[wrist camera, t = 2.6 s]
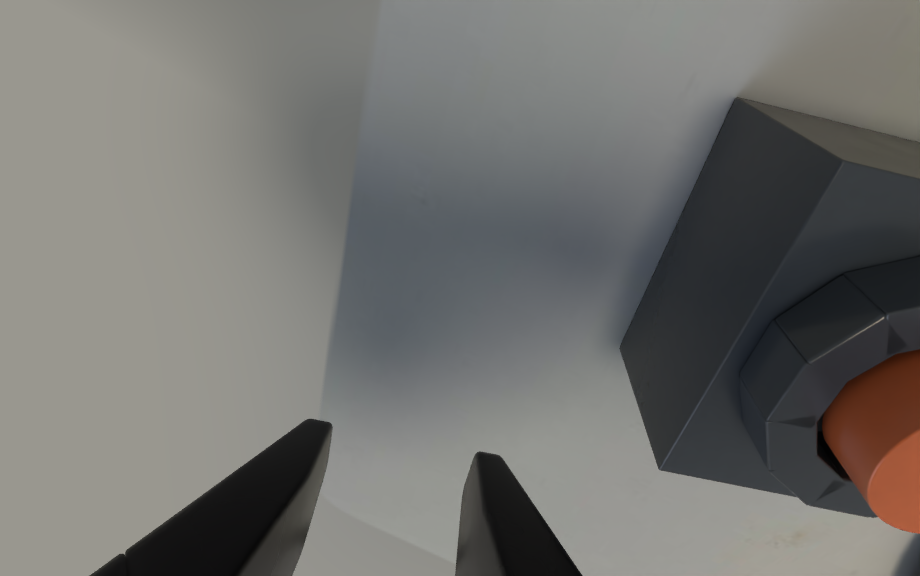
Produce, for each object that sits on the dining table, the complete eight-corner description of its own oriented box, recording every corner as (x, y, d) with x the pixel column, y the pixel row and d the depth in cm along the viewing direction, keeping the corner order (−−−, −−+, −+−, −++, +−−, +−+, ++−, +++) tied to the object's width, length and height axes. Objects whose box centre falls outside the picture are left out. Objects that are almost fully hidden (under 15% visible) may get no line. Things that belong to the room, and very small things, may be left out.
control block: (618, 348, 22) (674, 521, 16) (735, 96, 17) (894, 190, 11) (894, 406, 23) (1063, 596, 16) (1083, 182, 18) (1440, 322, 11)
